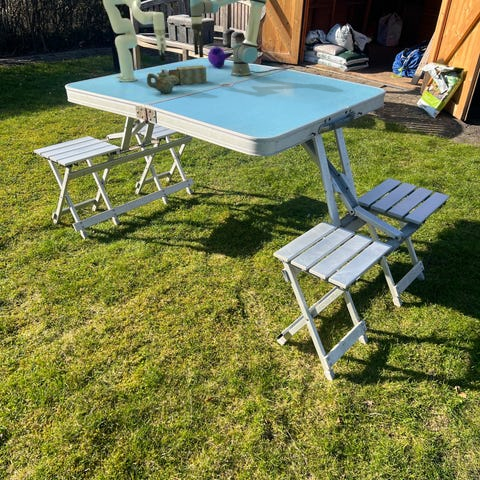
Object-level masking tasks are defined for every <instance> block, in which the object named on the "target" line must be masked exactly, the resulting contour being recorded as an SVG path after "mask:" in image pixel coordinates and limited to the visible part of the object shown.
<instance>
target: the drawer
mask: <svg viewBox="0 0 480 480" xmlns="http://www.w3.org/2000/svg"><path fill="white" fill-rule="evenodd" d="M164 70H165V72H166V73H167V77H168V76H171V75H175V76H176V77H178V79H179V82H178V83H177V84H179V83H181V81H180V70H178V69H177V68H176V69H175V68H174V69H164ZM159 73H160V72H157V76H159Z"/></svg>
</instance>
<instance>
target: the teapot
mask: <svg viewBox="0 0 480 480" xmlns="http://www.w3.org/2000/svg"><path fill="white" fill-rule="evenodd" d="M165 70H166V69H163V68H162V69H161V72H158V73H159V75H156V74H154V73H148V74H147V76H146V83H147V85H148V87H150V88H153V89H155V90H157V91H158V92H160V93H162V94H170V92H172V91H173V89H174V86H175V85H177V84H179V83H178V82H179V79H178V77H176V76H175V75H171V76H168V77H167V73H166V72H165ZM152 79H154V82H152Z"/></svg>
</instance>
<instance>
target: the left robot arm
mask: <svg viewBox="0 0 480 480" xmlns="http://www.w3.org/2000/svg"><path fill="white" fill-rule="evenodd" d="M102 3H103V4H102V5H103V7H104V9H105V11H106V13H107V16H108V19H109V22H110V25H111V28H112V30H113V32H114V33H115V34H120V35H118V36H115V40H114V44H115V48H116V52H117V56H118V62H119V67H120V68H119V69H120V74H119V75H115V76H114V78H115V79H117V80H119V81H120V82H123V83H126V82H128V83H130V82H135V81H137V79H138V78H137V77H135V71H134V63H133V55H132V53H131V51H130V49H134V48H136V47H138V43H139V42H138V37H137V33H136V30H135V27H134V24H133V22H132V21H131V20H130V19H129V18H123V17H122V16H121V12H120V10H119V9H118V7H117V6H116V5H126V6H127V7H129V8H130V9H131V14H132V16H133V18H134V19H135V20H136V21H137V22H139V23H140V24H142V25H143V26H145V25H146V26H147V25H153V33H154V36H156V47H157V50H158V52H159V61H160V62H166V56H165V51H167V42H166V23H165V14H164V12H161V11H142V10H141V9H140V8H141V6H142V1H141V0H102Z"/></svg>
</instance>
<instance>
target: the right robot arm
mask: <svg viewBox="0 0 480 480" xmlns="http://www.w3.org/2000/svg"><path fill="white" fill-rule="evenodd" d="M241 1H243V2H246V1H247V0H189V8H190V22H191V30H192V32H193V38H192V44H193V48H194V49H193V50H194V56H199V59H200V58H204V46H205V45H204V39H203V32H202V30H203V29H204V27H203V20H204V18H203V14H217V13H218V12H219V8H223V7H225V6H228V5H231V4H235V3H238V2H241ZM249 3H250V9H249V13H248V19H247V26H246V31H245V37H244V40H243V41H242V42H238V43H233V45H232V53H233V55H232V60H233V63H232V68H231V72H230V73H231V76H233V77H246V76H250V75H251V73H254V74H255V73H256V74H260V73H261V74H262V73H268V72H271V71H277V70H290V69H294V70H296V68H295V67H294V66H290V67H283V68H274V69H269V70H263V71H254V70H251V69H250V65H249V64H254V63H255V62H256V61H257V59H258V57H259V52H258V44H257V40H258V33H259V30H260V23H261V19H262V13H263V9H264V7H265V6H266V4H267V0H249Z"/></svg>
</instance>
